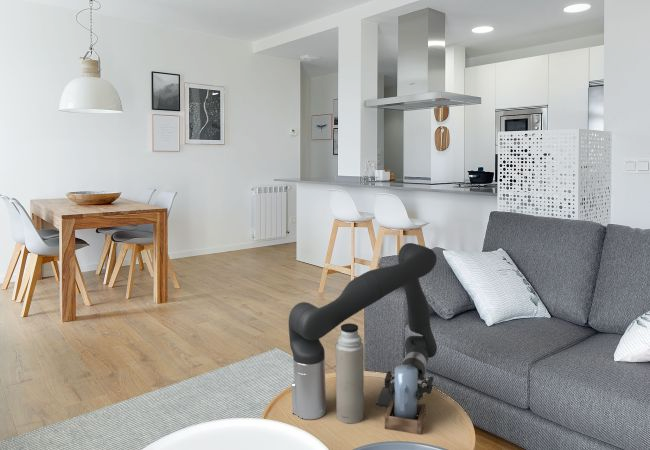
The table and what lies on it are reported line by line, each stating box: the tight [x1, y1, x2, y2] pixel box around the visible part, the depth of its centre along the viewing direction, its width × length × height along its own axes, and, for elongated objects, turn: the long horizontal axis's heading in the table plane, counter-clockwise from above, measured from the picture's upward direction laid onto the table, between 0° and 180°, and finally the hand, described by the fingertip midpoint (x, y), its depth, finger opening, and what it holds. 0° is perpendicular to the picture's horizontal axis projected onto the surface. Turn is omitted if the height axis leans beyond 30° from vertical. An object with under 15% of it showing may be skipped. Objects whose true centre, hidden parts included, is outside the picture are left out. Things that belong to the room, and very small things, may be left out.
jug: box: [393, 364, 418, 420], centre depth 146 cm, size 6×9×16 cm
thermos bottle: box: [335, 322, 365, 424], centre depth 149 cm, size 8×8×28 cm
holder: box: [384, 399, 427, 435], centre depth 148 cm, size 10×10×4 cm
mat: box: [375, 386, 395, 408], centre depth 161 cm, size 10×10×1 cm
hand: (404, 395), depth 145 cm, fingers open, 7 cm apart
